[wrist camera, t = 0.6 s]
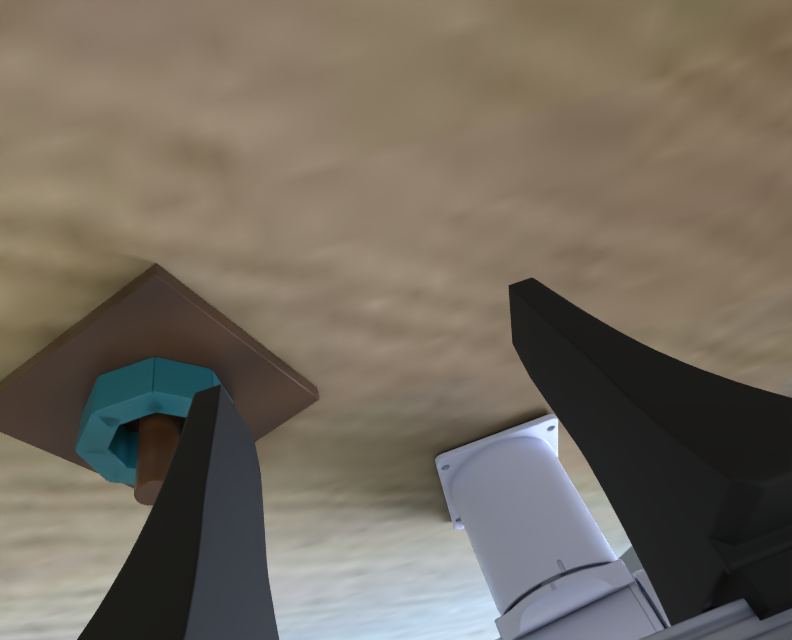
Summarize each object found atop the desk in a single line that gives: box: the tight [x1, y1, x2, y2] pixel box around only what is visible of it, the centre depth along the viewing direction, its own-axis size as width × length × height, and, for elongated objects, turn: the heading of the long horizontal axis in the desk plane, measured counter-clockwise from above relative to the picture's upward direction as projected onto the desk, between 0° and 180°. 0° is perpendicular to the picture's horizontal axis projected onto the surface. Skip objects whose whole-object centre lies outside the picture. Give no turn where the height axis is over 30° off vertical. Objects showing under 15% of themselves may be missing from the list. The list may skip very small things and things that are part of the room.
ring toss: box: [0, 264, 319, 506], centre depth 23 cm, size 10×10×5 cm
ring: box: [75, 357, 234, 485], centre depth 24 cm, size 6×6×2 cm
